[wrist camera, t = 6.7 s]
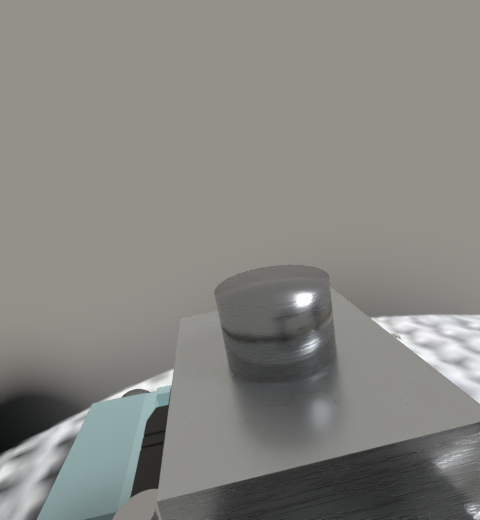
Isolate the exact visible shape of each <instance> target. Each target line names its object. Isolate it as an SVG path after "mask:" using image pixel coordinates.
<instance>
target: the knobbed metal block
mask: <svg viewBox="0 0 480 520" xmlns="http://www.w3.org/2000/svg"><path fill="white" fill-rule="evenodd" d="M215 298H216V303H217V309H218V311H214V312H209V313H204V314H200V315H195V316H190V317H185V318H181V319H180V327H179V335H178V342H177V349H176V357H175V365H174V372H173V380H172V388H171V395H170V403H169V411H168V418H167V426H166V434H165V441H164V449H163V457H162V464H161V472H160V480H159V487H158V495H157V505H158V508H159V511H160V515H161V518H162V520H473V517H475V516H480V404H479V403H478V402H476V401H475V400H474V399H473V398H471V397H470V396H469V395H468V394H466V393H465V392H464V391H462V390H461V389H460V388H459V387H457V386H456V385H455V384H453V383H452V382H451V381H450V380H448V379H447V378H446V377H445V376H443V375H442V374H441V373H439V372H438V371H437V370H436V369H434V368H433V367H432V366H431V365H429V364H428V363H427V362H425V361H424V360H423V359H422V358H420V357H419V356H418V355H416V354H415V353H414V352H413V351H411V350H410V349H409V348H408V347H406V346H405V345H404V344H402V343H401V342H400V341H399V340H397V339H396V338H395V337H394V336H392V335H391V334H390V333H388V332H387V331H386V330H385V329H383V328H382V327H381V326H379V325H378V324H377V323H376V322H374V321H373V320H372V319H371V318H369V317H368V316H367V315H365V314H364V313H363V312H361V311H360V310H359V309H358V308H356V307H355V306H354V305H353V304H351V303H350V302H349V301H348V300H346V299H345V298H344V297H342V296H341V295H340V294H338V293H337V292H336V291H335V290H334V289H332V288H330V282H329V276H328V274H327V273H326V272H325V271H323V270H321V269H319V268H316V267H311V266H304V265H281V266H270V267H265V268H259V269H254V270H250V271H246V272H243V273H240V274H237V275H235V276H232V277H230V278H228V279H226V280H225V281H223V282H222V283H220V284H219V285H218V286H217V287H216V289H215Z"/></svg>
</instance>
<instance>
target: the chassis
mask: <svg viewBox="0 0 480 520" xmlns="http://www.w3.org/2000/svg"><path fill="white" fill-rule="evenodd" d="M171 387H172V385H170V386H165V387H160V388H158V390H157V391H156V392H149V391H147V390H143V389H135V390H131V391H129V392H127V393H126V394H124V395H123V397H122V398H118V399H113V400H109V401H104V402H99V403H94V404H92V406H91V408H90V410H89V412H88V414H87V416H86V419H85V421H84V423H83V425H82V427H81V429H80V431H79V433H78V435H77V437H76V439H75V441H74V443H73V445H72V447H71V450H70V452H69V454H68V456H67V458H66V460H65V462H64V464H63V466H62V468H61V470H60V472H59V474H58V476H57V479H56V481H55V483H54V485H53V487H52V489H51V491H50V493H49V495H48V497H47V499H46V501H45V503H44V505H43V507H42V510H41V512H40V514H39V516H38V518H37V520H112V519H113V517H114V515H115V514H116V512H117V511H118V510H119V509H120V507H121V506H122V505H123V504H124V503H125V502H126V501H127V500H129V499H130V496H131V491H132V487H133V482H134V477H135V473H136V468H137V463H138V459H139V454H140V450H141V445H142V440H143V438H144V431H145V426H146V422H147V420H148V418H149V417H150V415H151V414H152V413H153V411H154V410H155V408H156V407H160V406H165V405H168V404H169V397H170V389H171Z"/></svg>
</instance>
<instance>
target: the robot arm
mask: <svg viewBox="0 0 480 520" xmlns="http://www.w3.org/2000/svg"><path fill="white" fill-rule="evenodd" d="M171 388H172V387H171ZM170 395H171V389H170ZM169 403H170V397H169ZM168 411H169V404H168V405H165V406H160V407H156V408H155V410H154V411H153V413H152V414H151V415H150V417H149V418H148V420H147V422H146V426H145V431H144V438H143V440H142V445H141V450H140V454H139V459H138V463H137V468H136V473H135V477H134V482H133V487H132V491H131V496H130V499H129V500H127V501H126V502H125V503H124V504H123V505H122V506H121V507H120V509H119V510H118V511H117V512H116V514H115V515H114V517H113V519H112V520H162V518H161V515H160V511H159V508H158V505H157V495H158V487H159V480H160V472H161V464H162V457H163V449H164V441H165V434H166V426H167V418H168ZM473 520H480V516H475V517H473Z"/></svg>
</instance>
